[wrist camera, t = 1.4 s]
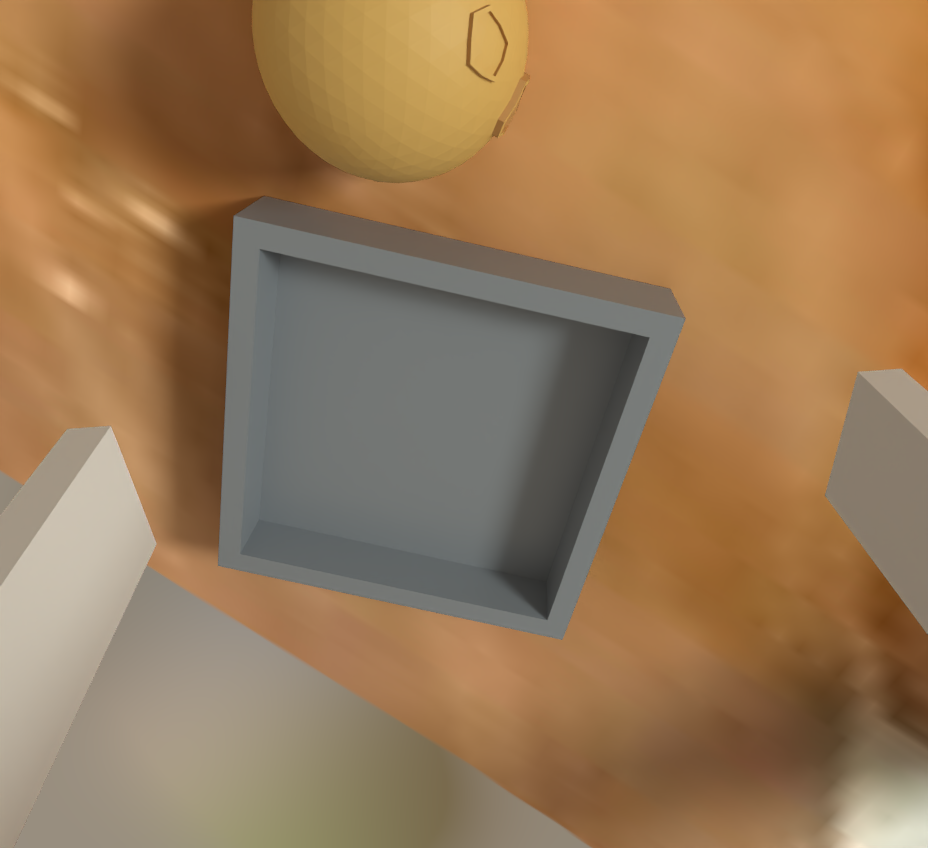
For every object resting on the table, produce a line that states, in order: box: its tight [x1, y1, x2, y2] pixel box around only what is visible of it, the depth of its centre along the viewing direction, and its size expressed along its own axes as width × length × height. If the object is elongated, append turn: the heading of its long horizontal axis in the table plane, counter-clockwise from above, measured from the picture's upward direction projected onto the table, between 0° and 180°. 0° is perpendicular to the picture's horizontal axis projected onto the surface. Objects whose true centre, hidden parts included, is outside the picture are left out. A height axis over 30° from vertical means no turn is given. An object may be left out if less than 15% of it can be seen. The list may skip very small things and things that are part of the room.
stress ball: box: [252, 0, 530, 183], centre depth 26 cm, size 10×10×10 cm
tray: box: [218, 196, 685, 640], centre depth 38 cm, size 20×20×4 cm
